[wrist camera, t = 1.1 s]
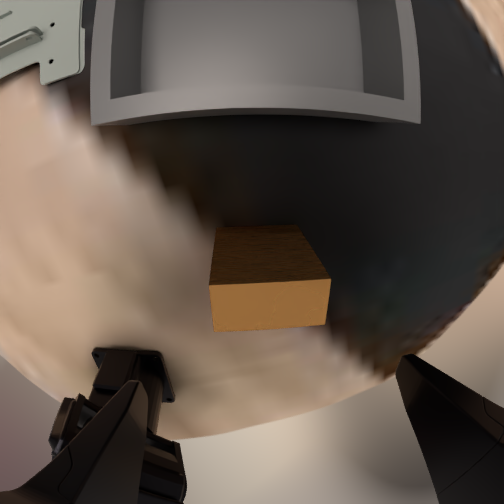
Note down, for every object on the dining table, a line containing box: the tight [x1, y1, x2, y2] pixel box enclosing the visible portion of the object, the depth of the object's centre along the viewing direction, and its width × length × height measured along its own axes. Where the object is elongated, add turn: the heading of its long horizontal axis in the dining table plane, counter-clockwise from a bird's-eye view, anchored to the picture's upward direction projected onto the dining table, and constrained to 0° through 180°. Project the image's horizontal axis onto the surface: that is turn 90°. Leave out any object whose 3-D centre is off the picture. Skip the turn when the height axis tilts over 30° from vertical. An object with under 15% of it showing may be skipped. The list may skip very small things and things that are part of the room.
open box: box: [90, 0, 421, 126], centre depth 11 cm, size 10×15×5 cm, turn 91°
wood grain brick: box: [209, 225, 331, 332], centre depth 16 cm, size 6×5×7 cm
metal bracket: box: [0, 0, 85, 85], centre depth 9 cm, size 14×6×15 cm
